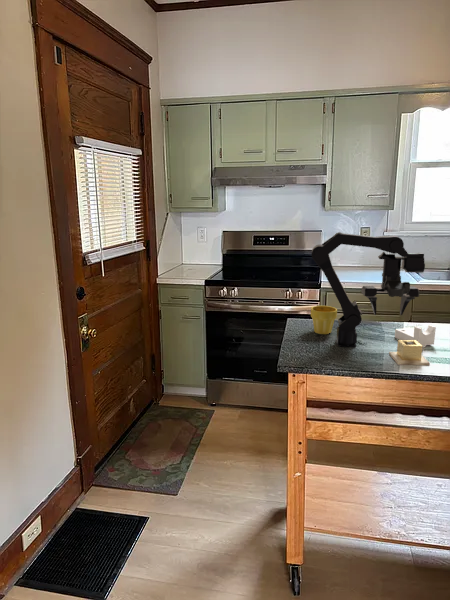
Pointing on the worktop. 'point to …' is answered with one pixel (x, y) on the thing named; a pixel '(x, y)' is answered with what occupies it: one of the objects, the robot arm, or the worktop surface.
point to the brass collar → (409, 350)
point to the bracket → (417, 335)
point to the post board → (407, 362)
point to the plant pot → (323, 318)
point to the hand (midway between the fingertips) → (388, 314)
